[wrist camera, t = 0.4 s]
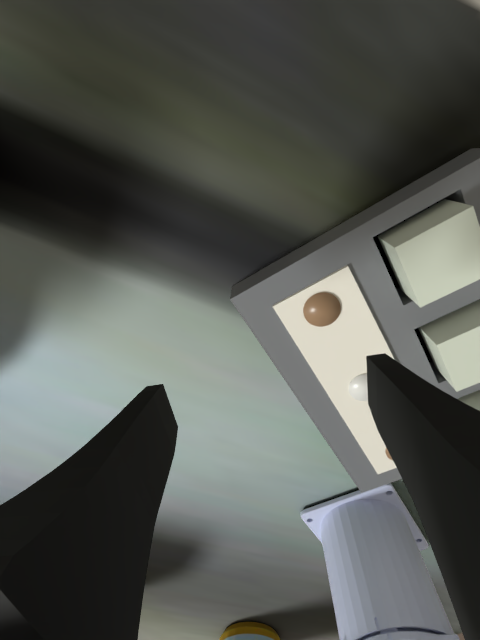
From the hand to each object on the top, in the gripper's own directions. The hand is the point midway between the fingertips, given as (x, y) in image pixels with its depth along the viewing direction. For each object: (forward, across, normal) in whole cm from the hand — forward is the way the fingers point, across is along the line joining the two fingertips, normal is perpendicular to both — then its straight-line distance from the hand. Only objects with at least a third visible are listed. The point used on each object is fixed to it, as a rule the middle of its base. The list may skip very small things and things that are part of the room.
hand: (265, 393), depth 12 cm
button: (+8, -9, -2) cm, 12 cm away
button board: (+10, -8, +5) cm, 14 cm away
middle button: (+8, -11, +4) cm, 14 cm away
